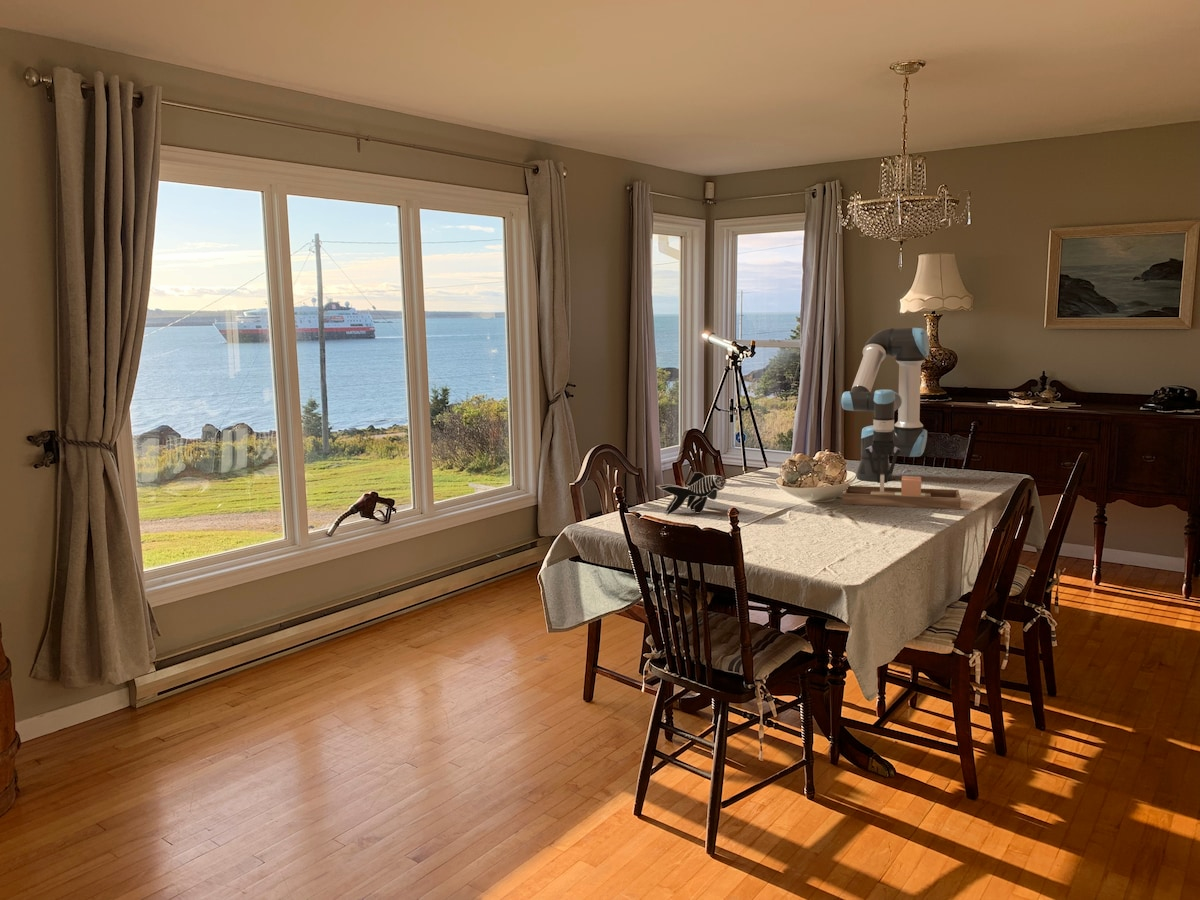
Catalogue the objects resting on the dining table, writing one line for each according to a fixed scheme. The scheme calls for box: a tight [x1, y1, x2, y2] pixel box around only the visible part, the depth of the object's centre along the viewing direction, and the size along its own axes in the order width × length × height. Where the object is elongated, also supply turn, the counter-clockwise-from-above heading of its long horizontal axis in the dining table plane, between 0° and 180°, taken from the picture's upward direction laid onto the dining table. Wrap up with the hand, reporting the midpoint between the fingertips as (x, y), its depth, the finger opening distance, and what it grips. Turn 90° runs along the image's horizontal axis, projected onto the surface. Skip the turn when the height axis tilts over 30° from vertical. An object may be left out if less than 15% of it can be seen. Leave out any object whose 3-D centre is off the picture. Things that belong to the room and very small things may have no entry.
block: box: [900, 475, 922, 496], centre depth 342 cm, size 7×7×7 cm
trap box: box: [841, 485, 962, 510], centre depth 344 cm, size 16×42×4 cm, turn 71°
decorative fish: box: [655, 471, 728, 516], centre depth 335 cm, size 16×26×15 cm, turn 102°
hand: (881, 491), depth 346 cm, fingers closed
